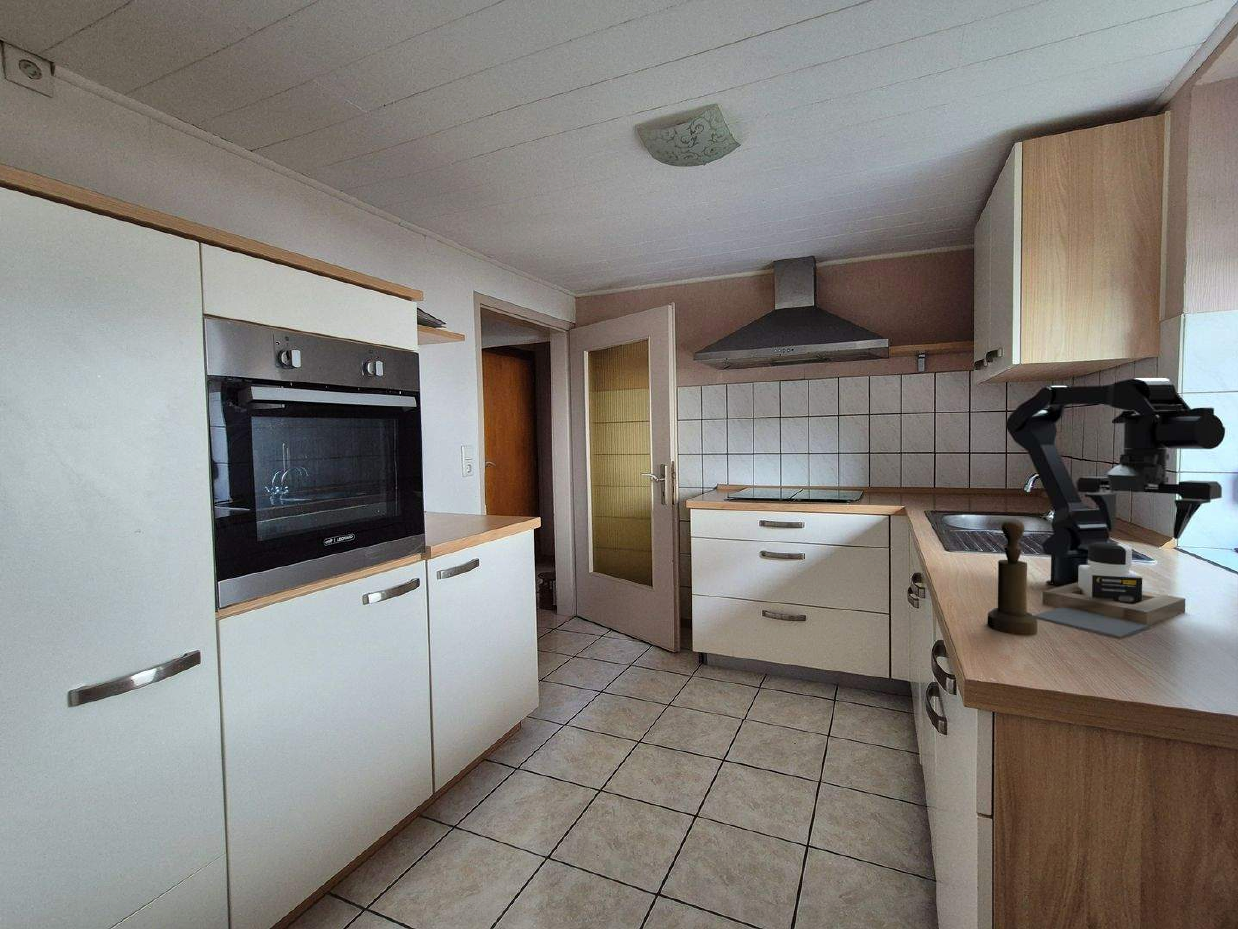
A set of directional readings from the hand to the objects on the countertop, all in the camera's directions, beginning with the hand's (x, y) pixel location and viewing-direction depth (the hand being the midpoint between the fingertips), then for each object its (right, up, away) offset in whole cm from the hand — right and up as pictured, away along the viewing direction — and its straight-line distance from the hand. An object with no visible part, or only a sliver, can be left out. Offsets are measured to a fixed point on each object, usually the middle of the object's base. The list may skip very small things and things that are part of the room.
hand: (1142, 535), depth 104 cm
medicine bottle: (-5, -14, +1) cm, 15 cm away
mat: (-17, -14, -8) cm, 23 cm away
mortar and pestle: (-31, -14, -11) cm, 36 cm away
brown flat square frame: (-6, -13, 0) cm, 14 cm away
